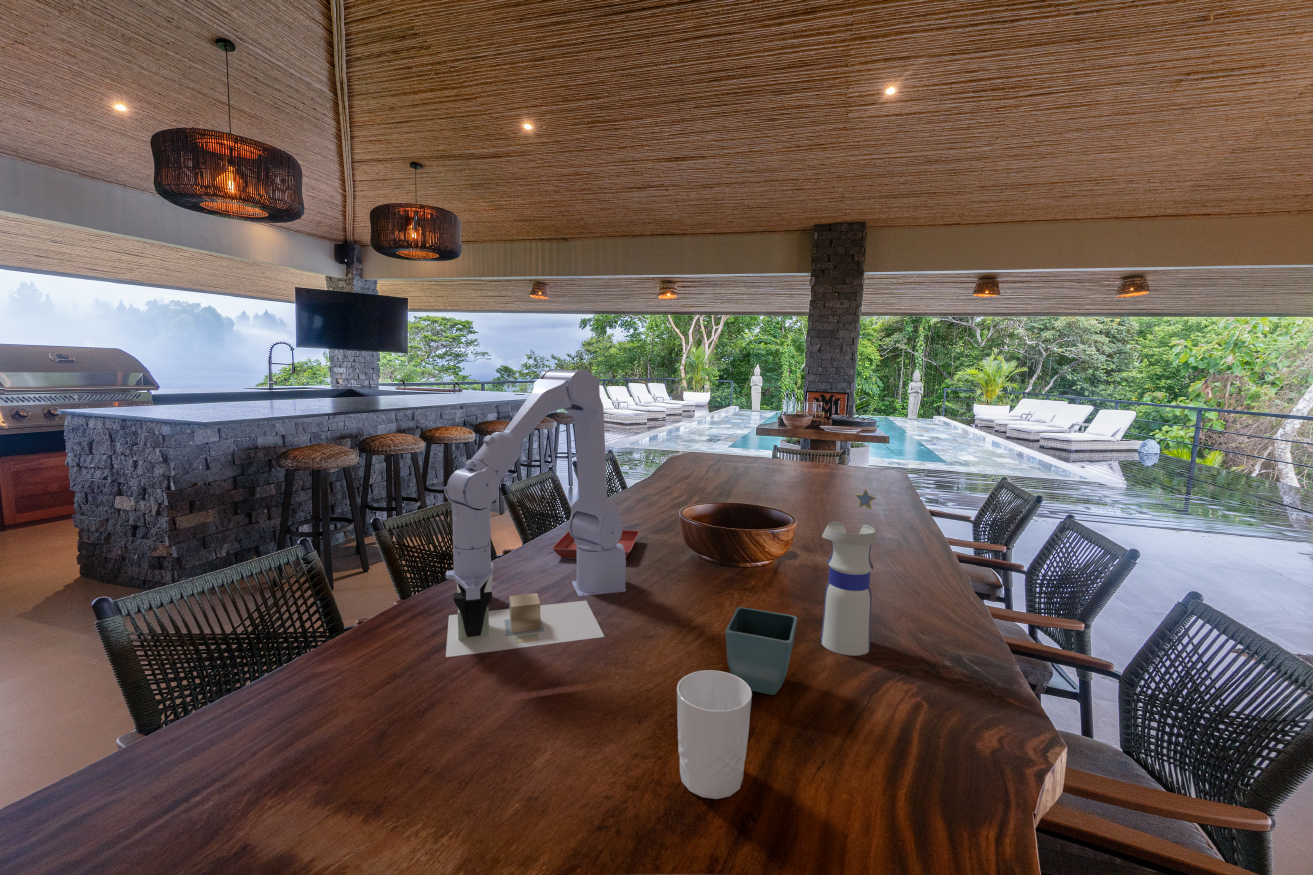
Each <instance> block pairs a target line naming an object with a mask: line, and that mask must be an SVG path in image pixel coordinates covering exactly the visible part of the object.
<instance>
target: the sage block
mask: <svg viewBox="0 0 1313 875" xmlns="http://www.w3.org/2000/svg"><path fill="white" fill-rule="evenodd" d="M489 611H490V610H489V605H488V606H487V609H486V612H485V616H484V622H483V628H482V632H481V635H480V636H474V637H467V636H466V633H465V629H464V625H463V620H462V616H461V613H460V611H459V609H458V608H457V614H458V640H461V639H469V638H477V637H485V636H489Z"/></svg>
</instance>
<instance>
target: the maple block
mask: <svg viewBox="0 0 1313 875" xmlns="http://www.w3.org/2000/svg"><path fill="white" fill-rule="evenodd" d="M540 605H541V601H540V598H539V594H538V593H537V592H535V593H527V594H524V593H523V594H517V595H515V594H514V595H509V609H510V626H511V632H512V633H515V632H523V631H531V630H540Z"/></svg>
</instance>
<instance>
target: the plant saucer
mask: <svg viewBox="0 0 1313 875" xmlns="http://www.w3.org/2000/svg"><path fill="white" fill-rule="evenodd" d="M640 534H641V531H639V530H630V529H629V530H628V529H627V530H626V529H622V535H621V538H620V540H619V542H618V543H617V544H622V545H623V547H624V550H625V556H626V558H628V556H629V555H630V552H632V549H633V547H634V545H635V543H636V541H637V539H638V536H639V535H640ZM552 550H553V552H555V553H556V555H558V556H559V557H560V558H561V557H562V559H564V558H575V559H574V560H577V545H576V544H575V543H574V538H573V537H572V536H571V535H570V533H569V530H568V531H567V532H566V533H565V534H564V535H563V536H562V537H561V538H560V539H559V540H558V541H557V542H555V544H554V545H553V546H552Z"/></svg>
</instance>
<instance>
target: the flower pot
mask: <svg viewBox="0 0 1313 875" xmlns="http://www.w3.org/2000/svg"><path fill="white" fill-rule="evenodd" d="M797 624H798V617H797V615H792V614H787V613H780V612H773V611H767V610H763V609H762V610H761V609H755V608H751V607H750V608H749V607H744V606H738V607H736V609H735V610H734V613H733V615H732V616H731V619H730V620H729V622H728V625H727V626H726V627H725V641H726V642H725V643H726V646H725V647H726V660H727V665H728V668H729V672H730V674H733V675H735V676H737V677H739V678H741V679H742V680H744V681H745V682H746V683H747V684H748V685H749V687H750V688H751V691H752V692H757V693H762V694H765V695H771V696H775V695H776V694H777V693H778V692H779V690H780V689H781V688H782V687H783V684H784V682H785V680H786V677H787V673H788V669H789V664H790V660H791V655H792V652H793V647H794V643H795V636H796V630H797Z"/></svg>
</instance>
